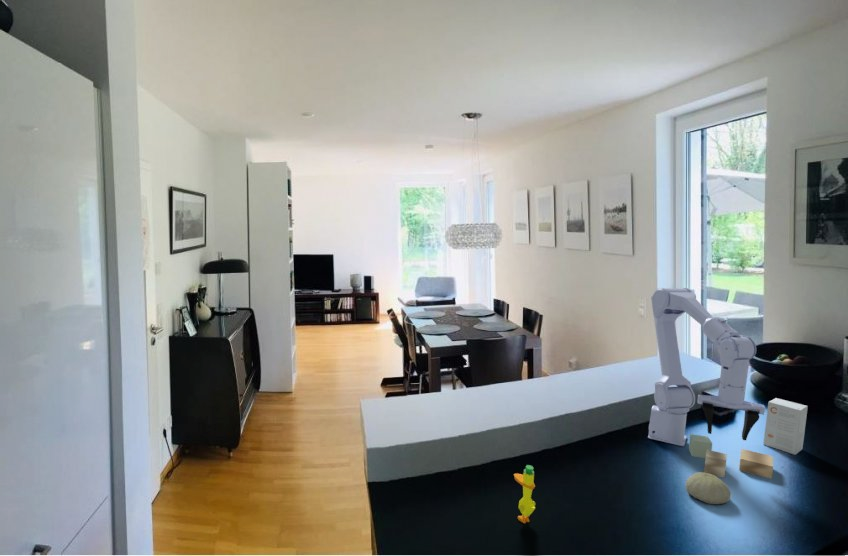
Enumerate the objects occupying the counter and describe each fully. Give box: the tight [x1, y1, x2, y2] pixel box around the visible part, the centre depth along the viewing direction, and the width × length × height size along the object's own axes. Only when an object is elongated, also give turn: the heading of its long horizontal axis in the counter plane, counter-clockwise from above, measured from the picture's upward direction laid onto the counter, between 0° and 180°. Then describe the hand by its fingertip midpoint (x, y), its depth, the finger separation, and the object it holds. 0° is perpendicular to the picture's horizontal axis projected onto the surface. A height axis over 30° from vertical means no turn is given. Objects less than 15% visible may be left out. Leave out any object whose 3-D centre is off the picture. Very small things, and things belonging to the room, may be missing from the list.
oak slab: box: [738, 448, 774, 480], centre depth 135 cm, size 7×7×4 cm
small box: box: [763, 397, 809, 456], centre depth 149 cm, size 8×6×13 cm
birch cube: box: [703, 450, 728, 478], centre depth 133 cm, size 4×4×4 cm
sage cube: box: [688, 433, 713, 459], centre depth 143 cm, size 4×4×4 cm
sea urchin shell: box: [685, 471, 732, 505], centre depth 121 cm, size 9×8×8 cm
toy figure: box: [513, 464, 536, 524], centre depth 108 cm, size 7×4×12 cm, turn 30°
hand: (726, 435), depth 133 cm, fingers open, 7 cm apart
